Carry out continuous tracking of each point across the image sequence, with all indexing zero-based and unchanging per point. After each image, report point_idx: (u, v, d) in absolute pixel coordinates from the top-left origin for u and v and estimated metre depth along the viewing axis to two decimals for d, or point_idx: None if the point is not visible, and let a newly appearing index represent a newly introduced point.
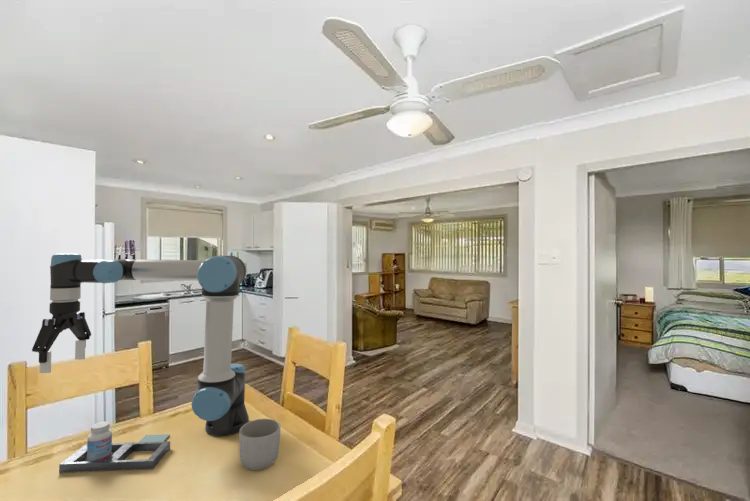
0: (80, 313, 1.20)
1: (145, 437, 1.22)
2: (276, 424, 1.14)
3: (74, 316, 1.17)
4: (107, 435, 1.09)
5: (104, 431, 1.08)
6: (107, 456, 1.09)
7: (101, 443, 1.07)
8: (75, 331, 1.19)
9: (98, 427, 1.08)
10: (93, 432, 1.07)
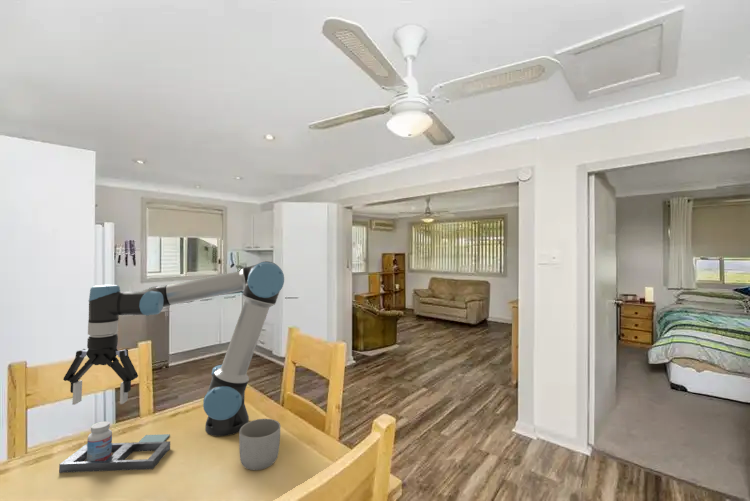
0: None
1: (145, 437, 1.22)
2: (276, 424, 1.14)
3: (108, 353, 1.09)
4: (107, 435, 1.09)
5: (104, 431, 1.08)
6: (107, 456, 1.09)
7: (101, 443, 1.07)
8: None
9: (98, 427, 1.08)
10: (93, 432, 1.07)
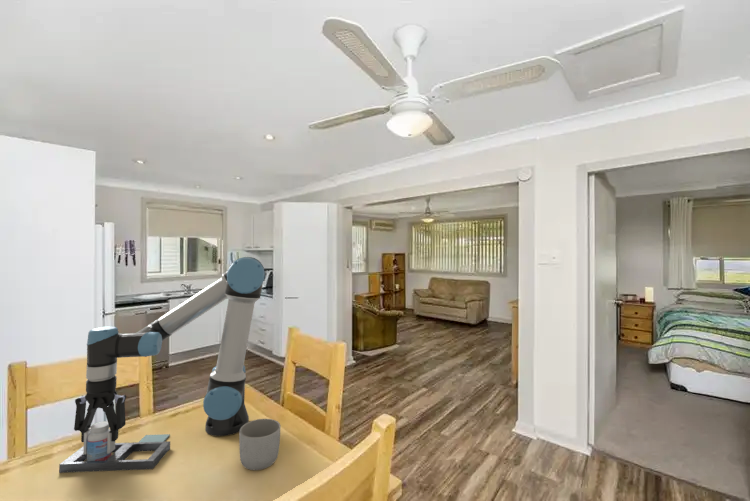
0: (119, 397, 1.09)
1: (145, 437, 1.22)
2: (276, 424, 1.14)
3: (107, 396, 1.08)
4: (107, 435, 1.09)
5: (104, 431, 1.08)
6: (107, 456, 1.09)
7: (101, 443, 1.07)
8: None
9: (98, 427, 1.08)
10: (93, 432, 1.07)
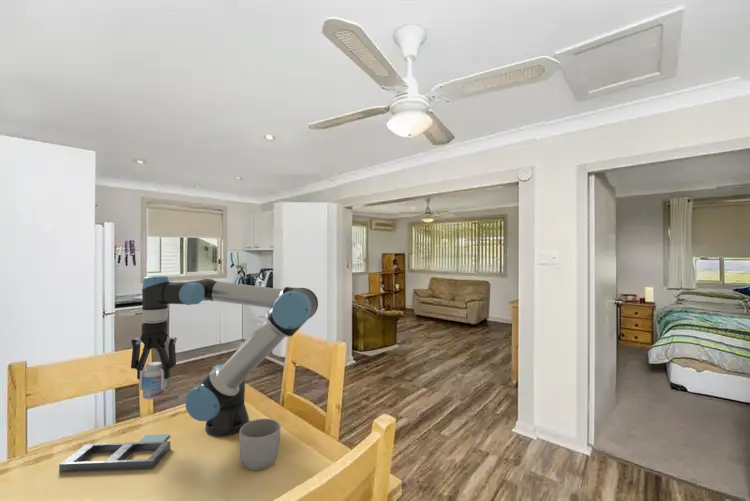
0: (171, 339, 1.20)
1: (145, 437, 1.22)
2: (276, 424, 1.14)
3: (160, 337, 1.20)
4: (160, 373, 1.20)
5: (158, 369, 1.20)
6: (161, 392, 1.20)
7: (156, 379, 1.18)
8: None
9: (153, 365, 1.19)
10: (148, 369, 1.18)
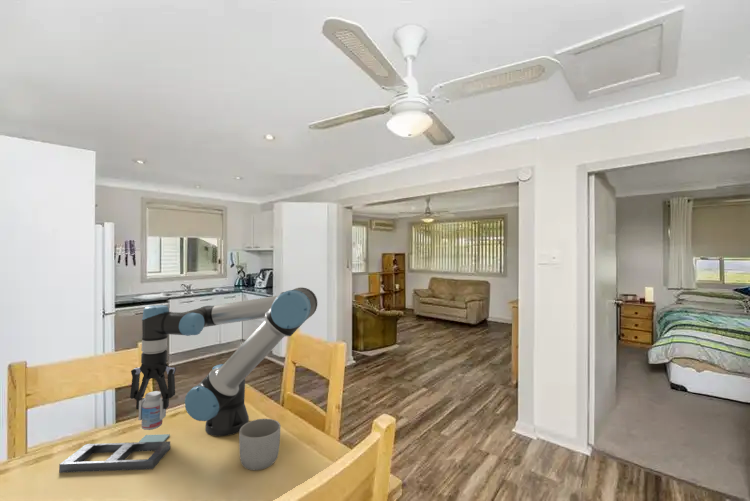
0: (170, 369, 1.20)
1: (145, 437, 1.22)
2: (276, 424, 1.14)
3: (160, 367, 1.20)
4: (159, 403, 1.20)
5: (157, 399, 1.20)
6: (159, 422, 1.20)
7: (154, 410, 1.18)
8: None
9: (152, 395, 1.19)
10: (147, 400, 1.18)
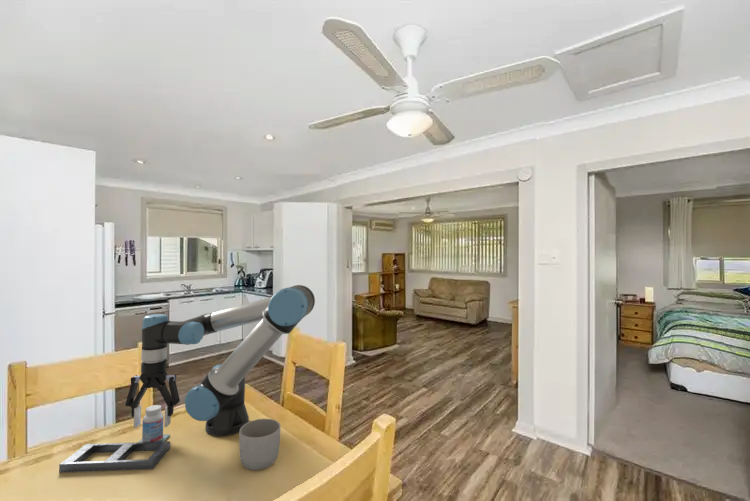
0: (170, 377, 1.20)
1: None
2: (276, 424, 1.14)
3: (160, 377, 1.20)
4: (160, 417, 1.20)
5: (157, 413, 1.19)
6: (160, 436, 1.20)
7: (155, 424, 1.18)
8: None
9: (152, 409, 1.19)
10: (148, 414, 1.18)
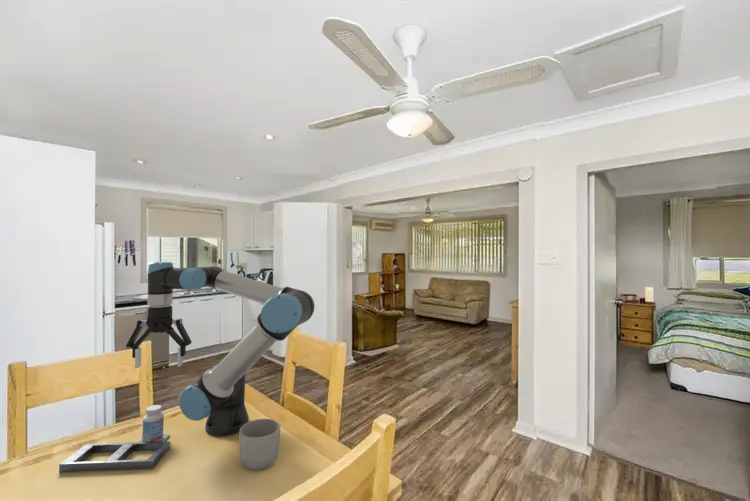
0: (176, 320, 1.23)
1: None
2: (276, 424, 1.14)
3: (166, 322, 1.22)
4: (160, 417, 1.20)
5: (158, 413, 1.20)
6: (160, 436, 1.20)
7: (155, 424, 1.18)
8: None
9: (153, 409, 1.19)
10: (148, 414, 1.18)
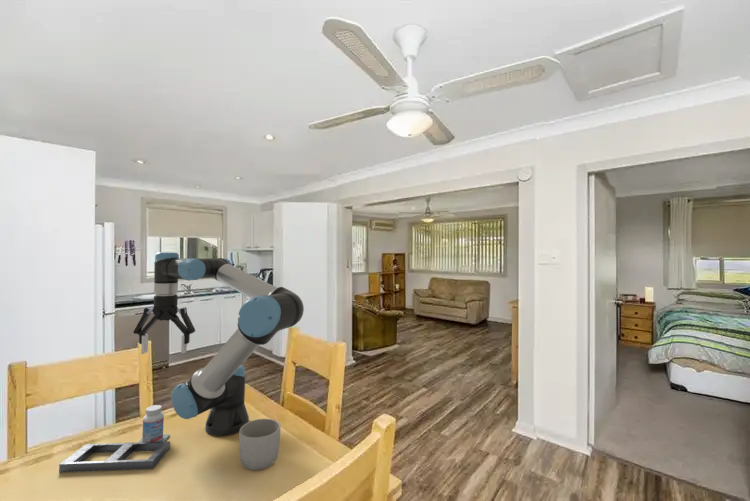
0: None
1: None
2: (276, 424, 1.14)
3: (171, 310, 1.27)
4: (160, 417, 1.20)
5: (158, 413, 1.20)
6: (160, 436, 1.20)
7: (155, 424, 1.18)
8: None
9: (153, 409, 1.19)
10: (148, 414, 1.18)
